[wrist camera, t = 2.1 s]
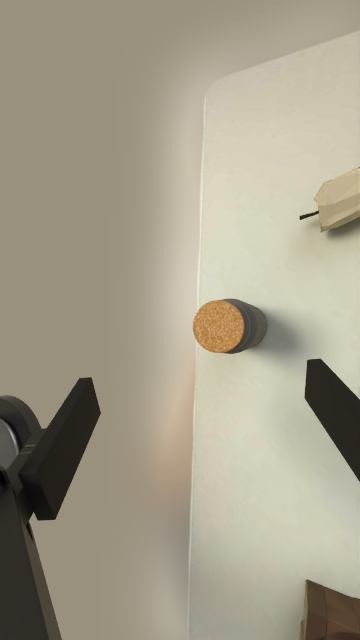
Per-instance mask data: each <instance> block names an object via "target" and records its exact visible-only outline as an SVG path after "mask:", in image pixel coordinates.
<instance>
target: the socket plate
mask: <svg viewBox="0 0 360 640" xmlns="http://www.w3.org/2000/svg"><path fill="white" fill-rule="evenodd" d="M300 640H360V599H358V598H351V597H348V596H346V595H343V594H341V593H338V592H336V591H333V590H331V589H328V588H326V587H324V586H321V585H319V584H316V583H314V582H311V581H309V580H306V591H305V605H304V619H303V620H302V622H301V633H300Z"/></svg>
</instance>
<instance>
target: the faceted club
mask: <svg viewBox="0 0 360 640" xmlns="http://www.w3.org/2000/svg"><path fill="white" fill-rule="evenodd" d="M314 201H315V202H316V203H317V205H318V209H319V211H316V212H314V213H310V214H306V215H302V216H300V220H302V219H304V218H307V217H310V216H313V215H316V214H318V213H319V216H320V223H321V232H323V231H326V230H329V229H333V228H337V227H339V226H341V225H344V224H346V223H348V222H350V221H352V220H354V219H356V218H358V217H360V167H359V168H357V169H355V170H352V171H350V172H348V173H346V174H343V175H341V176H339V177H337V178H335V179H332V180H330V181H328V182H326V183H324V184H323V185H322V187H321V188H320V190H319V191H318V193H317V194H316V196H315V197H314Z"/></svg>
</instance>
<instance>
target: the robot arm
mask: <svg viewBox="0 0 360 640" xmlns="http://www.w3.org/2000/svg"><path fill="white" fill-rule="evenodd" d="M305 399H306V401H307V402H308V404H309V406H310V407H311V409H312V410H313V412H314V413H315V415H316V416H317V418H318V419H319V421H320V422H321V424H322V425H323V427H324V428H325V430H326V431H327V433H328V434H329V436H330V437H331V439H332V440H333V442H334V443H335V445H336V447H337V448H338V450H339V451H340V453H341V454H342V456H343V457H344V459H345V460H346V462H347V463H348V465H349V466H350V468H351V469H352V471H353V472H354V474H355V475H356V477H357V478H358V480H359V481H360V399H359V398H358V397H357V396H356V395H355V394H354V393H353V392H352V391H351V390H350V389H349V388H348V387H347V386H346V385H345V384H344V383H343V382H342V381H341V380H340V378H339V377H338V376H337V375H336V374H335V373H334V372H333V371H332V370H331V369H330V368H329V367H328V366H327V365H326V364H325V363H324V362H323V361H322V360H321V359H310V360H307V372H306V386H305ZM100 414H101V412H100V408H99V405H98V401H97V397H96V393H95V389H94V385H93V382H92V378H90V377H89V378H79V380H78V381H77V383H76V384H75V386H74V388H73V389H72V390H71V392H70V394H69V395H68V397H67V398H66V400H65V401H64V403H63V404H62V406H61V408H60V409H59V410H58V412H57V414H56V415H55V417H54V418H53V420H52V421H51V423H50V425H49V426H48V427H47V428H46V429H39V430H38V431H36V432H35V433H34V434H33V435H32V436H31V437H30V438H29V439H28V441H27V442H26V444H25V445H24V447H23V448H22V447H21V442H20V439H19V436H18V434H17V432H16V430H15V428H14V427H13V426H12V424H11V423H10V422H9V421H8V420H6V419H5V418H3V417H1V416H0V640H62V638H61V635H60V631H59V627H58V624H57V620H56V617H55V613H54V609H53V606H52V602H51V598H50V594H49V591H48V587H47V584H46V580H45V576H44V572H43V569H42V565H41V561H40V558H39V554H38V550H37V547H36V543H35V539H34V536H33V532H32V528H31V525H30V523H29V520H30V518H31V516H32V514H33V512H34V513H35V515H36V517H37V520H55V519H56V517H57V514H58V512H59V510H60V507H61V505H62V502H63V500H64V498H65V496H66V493H67V491H68V488H69V486H70V483H71V481H72V479H73V477H74V474H75V472H76V470H77V467H78V465H79V463H80V460H81V458H82V456H83V453H84V451H85V449H86V446H87V444H88V442H89V439H90V437H91V435H92V432H93V430H94V427H95V425H96V423H97V421H98V418H99V416H100Z"/></svg>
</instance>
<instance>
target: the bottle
mask: <svg viewBox="0 0 360 640" xmlns="http://www.w3.org/2000/svg"><path fill="white" fill-rule="evenodd" d="M193 331H194V335H195V338H196V339H197V341H198V343H199V344H200V345H201V346H202V347H203V348H205V349H206V350H208V351H211V352H215V353H227V354H234V353H238V352H241V351H244V350H246V349H248V348H250V347H252V346H254V345H256V344H257V343H259V342H260V341H261V340H262V339H263V338H264V336H265V334H266V331H267V321H266V318H265V316H264V314H263V313H262V312H261V311H260V310H259V309H258V308H256V307H254V306H252V305H250V304H247V303H245V302H243V301H240V300H237V299H224V300H217V301H211V302H209V303H206V304H205V305H203V306H202V307H201V308H200V309H199V310H198V312H197V313H196V316H195V318H194V322H193Z"/></svg>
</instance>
